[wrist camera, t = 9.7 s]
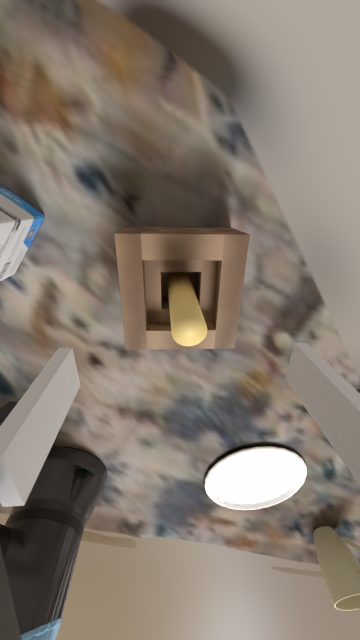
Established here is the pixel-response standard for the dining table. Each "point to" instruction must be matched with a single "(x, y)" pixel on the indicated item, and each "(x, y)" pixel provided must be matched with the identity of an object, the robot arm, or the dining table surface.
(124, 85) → the dining table surface
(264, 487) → the plate
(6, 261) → the ink box
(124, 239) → the bore block
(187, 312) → the pin
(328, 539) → the mug
